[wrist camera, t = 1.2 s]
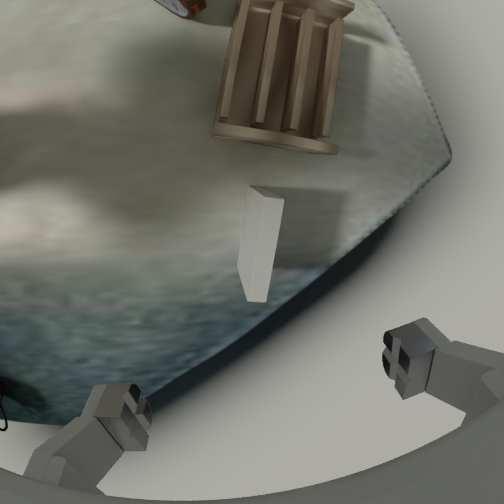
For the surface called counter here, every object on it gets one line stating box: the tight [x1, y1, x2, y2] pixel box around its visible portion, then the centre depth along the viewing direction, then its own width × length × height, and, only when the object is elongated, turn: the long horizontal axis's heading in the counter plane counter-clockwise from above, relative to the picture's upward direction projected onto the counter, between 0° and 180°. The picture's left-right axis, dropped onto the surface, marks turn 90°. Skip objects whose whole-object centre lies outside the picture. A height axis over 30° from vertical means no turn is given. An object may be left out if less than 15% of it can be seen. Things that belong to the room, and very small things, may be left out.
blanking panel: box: [237, 186, 285, 302], centre depth 35 cm, size 2×11×10 cm, turn 171°
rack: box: [212, 0, 355, 155], centre depth 28 cm, size 13×20×11 cm, turn 171°
